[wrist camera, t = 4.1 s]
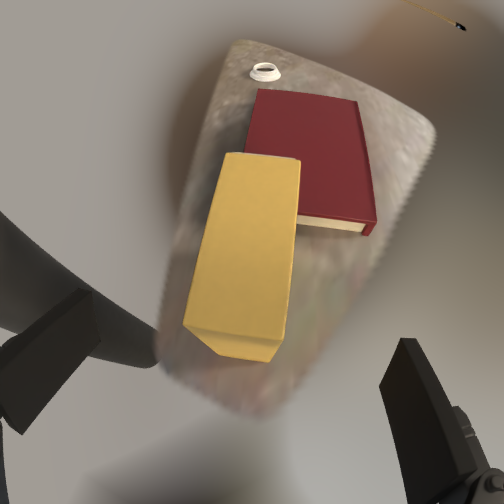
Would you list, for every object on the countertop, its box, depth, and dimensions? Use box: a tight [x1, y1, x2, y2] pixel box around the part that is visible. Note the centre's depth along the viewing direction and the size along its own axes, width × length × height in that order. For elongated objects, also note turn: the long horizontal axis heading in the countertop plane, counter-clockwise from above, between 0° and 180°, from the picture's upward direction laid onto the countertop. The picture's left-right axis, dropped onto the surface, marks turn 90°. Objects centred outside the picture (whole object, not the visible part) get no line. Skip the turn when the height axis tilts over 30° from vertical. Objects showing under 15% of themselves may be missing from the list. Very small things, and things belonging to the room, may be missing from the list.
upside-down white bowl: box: [250, 63, 281, 82], centre depth 34 cm, size 5×3×5 cm
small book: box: [182, 152, 301, 362], centre depth 17 cm, size 4×8×12 cm, turn 172°
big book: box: [243, 89, 377, 236], centre depth 26 cm, size 16×11×4 cm
